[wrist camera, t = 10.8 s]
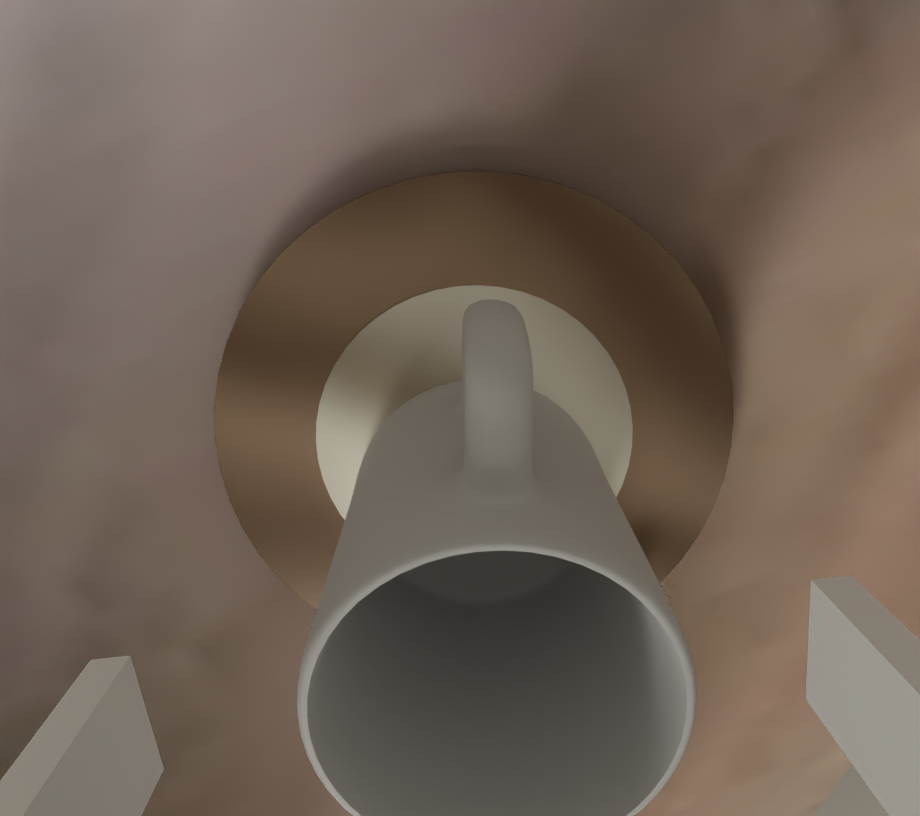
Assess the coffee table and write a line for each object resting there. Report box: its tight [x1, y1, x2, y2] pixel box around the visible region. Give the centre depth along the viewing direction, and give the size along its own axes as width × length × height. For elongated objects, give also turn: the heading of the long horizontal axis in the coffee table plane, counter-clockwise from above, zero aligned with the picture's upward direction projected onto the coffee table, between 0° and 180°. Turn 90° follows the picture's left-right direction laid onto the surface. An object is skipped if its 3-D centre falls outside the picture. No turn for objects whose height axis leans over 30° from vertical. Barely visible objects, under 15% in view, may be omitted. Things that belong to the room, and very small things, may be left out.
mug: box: [297, 299, 696, 816], centre depth 19 cm, size 12×8×11 cm
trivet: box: [214, 171, 733, 610], centre depth 24 cm, size 18×18×3 cm
